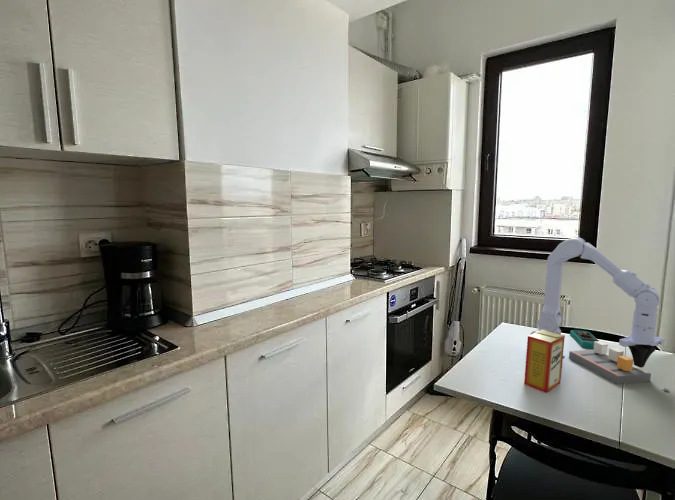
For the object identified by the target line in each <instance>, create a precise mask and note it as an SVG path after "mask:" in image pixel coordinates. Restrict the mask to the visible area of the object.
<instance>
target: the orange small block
mask: <svg viewBox="0 0 675 500" xmlns="http://www.w3.org/2000/svg"><path fill="white" fill-rule="evenodd" d="M633 365H634V361H633V358H630V357H628V356H626V355H623V356H618V360H617V367H618V368H620V369H622V370H624V371H632V366H633Z"/></svg>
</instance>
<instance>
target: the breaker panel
mask: <svg viewBox="0 0 675 500" xmlns="http://www.w3.org/2000/svg"><path fill="white" fill-rule="evenodd" d="M608 345H609V344H608V343H605V342H603V341H600V340H599V341H595V342H594V349H585V350H569V353H568V354H569V355H568V358H569V359H570V360H572V361H574V362H576V363H578V364H580V365H581V366H583V367H584V368H586V369H589V370H590V371H593V372H594V373H596V374H597V375H600V376H601V377H604V378H606V379H607V380H609V381H611V382H613V383H614V384H617V385H619V384H620V385H621V384H631V383H632V384H633V383H644V382H651V377H652V373H651V372H648V371H646V370H644V369H642V368H640V367H638V366H635V365H634V364H633V366H632V371H624V370H622V369H620V368H618V367H617V360H618V356H624V351H623V350H621V349H619V348H616V347H610V348H609V349H608Z"/></svg>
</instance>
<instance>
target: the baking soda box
mask: <svg viewBox="0 0 675 500" xmlns="http://www.w3.org/2000/svg"><path fill="white" fill-rule="evenodd" d="M530 334H531V333H530ZM530 334H529V335H528V336H527V342H526V354H525V355H526V356H525V357H526V358H525V370H524V381H523V382H524V383H523V384H524V385H525V386H527V387H530V388H533V389H535V390H538V391H540V392H543V393H546V394H547V393H549V392H551V391H552V390H553V389H555V388H556V387H557V386H560V384H561V380H562V372H563V371H562V369H563V360H564V357H563V355H564V347H565V338H566V337H565V334H562V333H561V334H557V333H554V332H550V331H546V330H543V329H542V330H540V331H538V332H535V333H533V334H531V335H530Z"/></svg>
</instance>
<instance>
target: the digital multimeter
mask: <svg viewBox="0 0 675 500" xmlns="http://www.w3.org/2000/svg"><path fill="white" fill-rule="evenodd" d="M569 335H570V336H571V337H572V338H573V339H574V341H576V342H577V343H578V344H579V346H580V347H582V348H585V349H590V350H594V342H595V341H600V340H599V339H598V338H596V336H594V335H593V334H592V333H591V332H590V331H587V330H582V329H581V330H580V329H571V330H570V331H569Z"/></svg>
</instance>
